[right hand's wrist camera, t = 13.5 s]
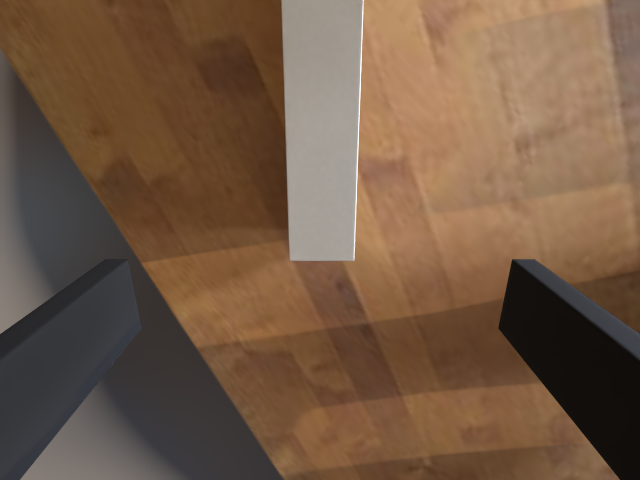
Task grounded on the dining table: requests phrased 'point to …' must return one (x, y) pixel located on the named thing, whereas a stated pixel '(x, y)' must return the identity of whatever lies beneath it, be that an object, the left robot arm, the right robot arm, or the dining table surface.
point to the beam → (322, 125)
